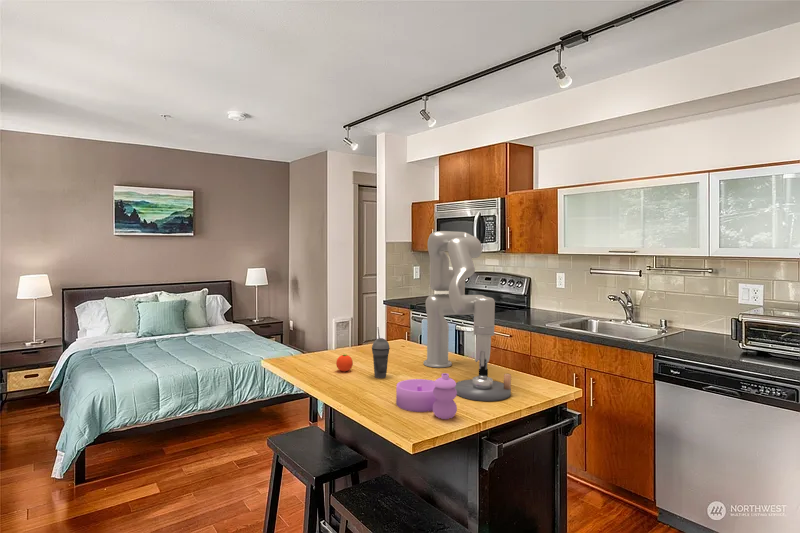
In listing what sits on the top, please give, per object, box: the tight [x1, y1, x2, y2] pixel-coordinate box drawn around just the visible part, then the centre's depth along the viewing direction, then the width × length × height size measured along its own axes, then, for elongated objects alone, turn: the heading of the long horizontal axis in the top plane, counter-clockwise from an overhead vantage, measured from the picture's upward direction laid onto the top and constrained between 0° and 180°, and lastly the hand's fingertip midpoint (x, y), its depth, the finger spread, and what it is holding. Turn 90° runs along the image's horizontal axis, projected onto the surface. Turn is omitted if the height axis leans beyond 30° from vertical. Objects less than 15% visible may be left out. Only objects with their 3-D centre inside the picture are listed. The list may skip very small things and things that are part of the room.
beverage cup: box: [371, 326, 391, 379], centre depth 190 cm, size 7×7×20 cm
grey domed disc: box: [454, 373, 512, 402], centre depth 171 cm, size 20×20×7 cm
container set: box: [395, 372, 458, 420], centre depth 153 cm, size 25×15×13 cm, turn 32°
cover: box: [472, 374, 494, 390], centre depth 170 cm, size 7×7×4 cm
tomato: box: [335, 354, 354, 373], centre depth 199 cm, size 8×7×7 cm
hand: (483, 379), depth 177 cm, fingers closed
